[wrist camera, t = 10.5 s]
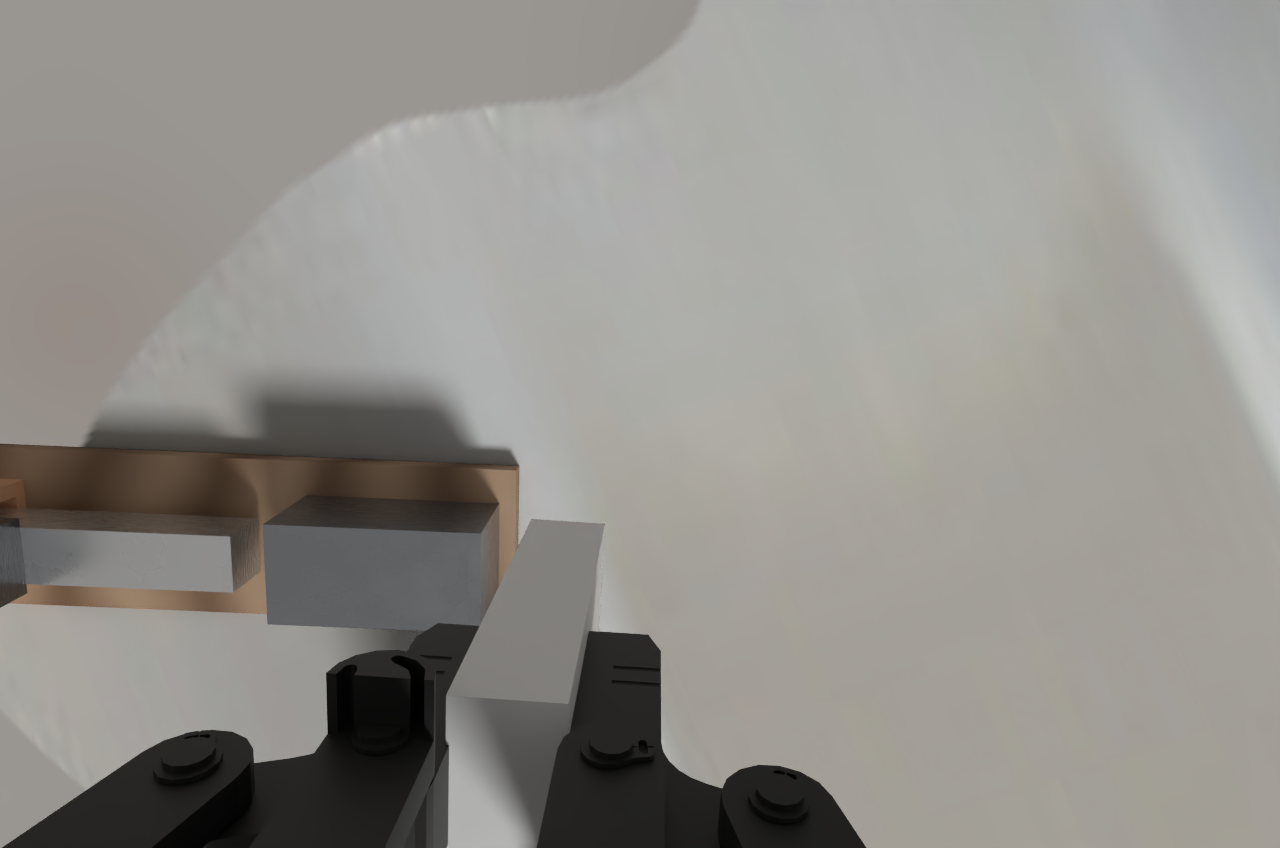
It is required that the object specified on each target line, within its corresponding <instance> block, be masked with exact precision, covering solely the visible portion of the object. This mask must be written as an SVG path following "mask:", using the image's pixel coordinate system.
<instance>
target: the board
mask: <svg viewBox="0 0 1280 848" xmlns="http://www.w3.org/2000/svg"><path fill="white" fill-rule="evenodd" d="M0 479H23V483H24V492H25V501H26V508H31V509H55V510H78V511H102V512H125V513H149V514H173V515H196V516H220V517H243V518H259V534H260V553H261V571H260V572H259V573H258V574H257V575H255V576H254V577H253V578H251V579H250V580H249V581H248V582H246V583H245V584H244V585H243V586H241V587H240V588H239V589H237V590H236V591H235V592H234V593H227V592H204V591H180V590H156V589H132V588H108V587H84V586H60V585H36V584H27V594H25V595H23V596H21V597H20V598H18V599H16V600H14V601H12V602H10V603H18V604H42V605H65V606H89V607H113V608H137V609H161V610H185V611H209V612H233V613H257V614H267V603H266V583H265V563H264V543H263V524H264V523H265V522H267V521H268V520H270V519H271V518H273V517H274V516H276V515H277V514H279V513H280V512H282V511H283V510H285V509H286V508H288V507H289V506H291V505H292V504H294V503H295V502H297V501H298V500H300V499H301V498H303V497H304V496H306V495H317V496H340V497H363V498H387V499H410V500H434V501H457V502H481V503H500V505H499V585H500V583H501V581H502V579H503V577H504V575H505V573H506V571H507V569H508V567H509V565H510V563H511V561H512V558H513V556H514V554H515V552H516V550H517V548H518V511H519V466H506V465H482V464H459V463H436V462H413V461H389V460H366V459H343V458H319V457H296V456H273V455H249V454H226V453H203V452H180V451H156V450H133V449H110V448H86V447H62V446H40V445H37V446H36V445H14V444H0Z"/></svg>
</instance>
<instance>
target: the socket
mask: <svg viewBox="0 0 1280 848" xmlns="http://www.w3.org/2000/svg"><path fill="white" fill-rule="evenodd" d="M0 507H8V508H26V501H25V492H24V483H23V479H0Z"/></svg>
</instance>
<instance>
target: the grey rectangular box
mask: <svg viewBox="0 0 1280 848" xmlns="http://www.w3.org/2000/svg"><path fill="white" fill-rule="evenodd" d="M499 505H500V503H481V502H457V501H434V500H410V499H387V498H363V497H340V496H317V495H306V496H304V497H303V498H301V499H300V500H298V501H297V502H295V503H294V504H292V505H291V506H289V507H288V508H286V509H285V510H283V511H282V512H280V513H279V514H277V515H276V516H274V517H273V518H271V519H270V520H268V521H267V522H265V523H264V524H263V543H264V563H265V583H266V603H267V623H268V624H274V625H298V626H322V627H346V628H370V629H394V630H418V631H426V630H428V629H429V628H431V627H433V626H434V625H436V624H437V623H445V624H460V625H474V626H480V624H481V622H482V620H483V618H484V616H485V614H486V612H487V610H488V608H489V606H490V604H491V602H492V600H493V598H494V596H495V593H496V591H497V589H498V587H499Z"/></svg>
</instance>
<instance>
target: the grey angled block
mask: <svg viewBox="0 0 1280 848" xmlns="http://www.w3.org/2000/svg"><path fill="white" fill-rule="evenodd" d="M260 571H261V553H260V534H259V518H243V517H220V516H196V515H173V514H149V513H125V512H102V511H78V510H55V509H31V508H8V507H0V607H2V606H4V605H6V604H8V603H10V602H12V601H14V600H16V599H18V598H20V597H21V596H23V595H25V594H27V584H36V585H60V586H84V587H108V588H132V589H156V590H180V591H204V592H227V593H234V592H235V591H236V590H237V589H239V588H240V587H241V586H243V585H244V584H245V583H246V582H248V581H249V580H250V579H251V578H253V577H254V576H255V575H257V574H258V573H259V572H260Z"/></svg>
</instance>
